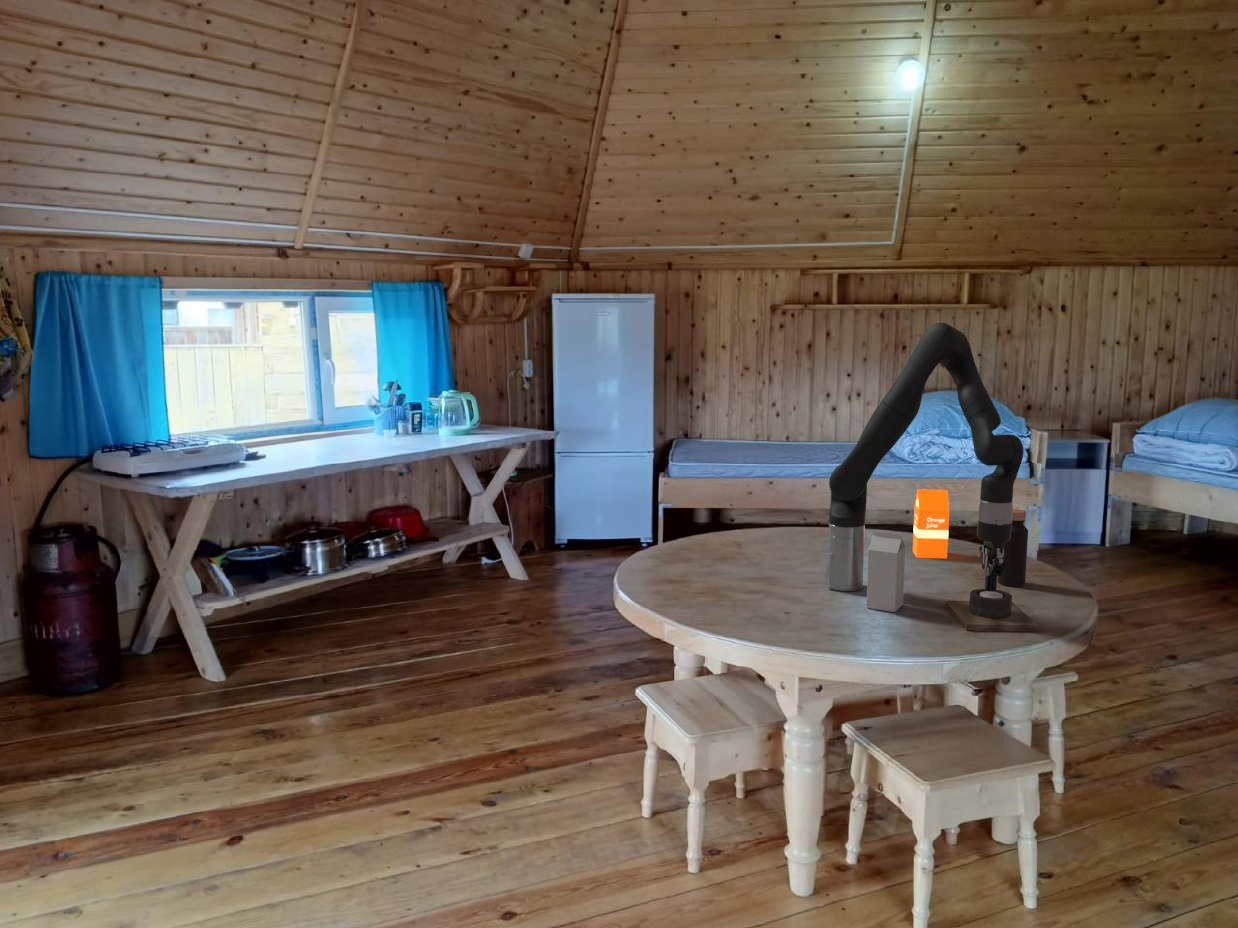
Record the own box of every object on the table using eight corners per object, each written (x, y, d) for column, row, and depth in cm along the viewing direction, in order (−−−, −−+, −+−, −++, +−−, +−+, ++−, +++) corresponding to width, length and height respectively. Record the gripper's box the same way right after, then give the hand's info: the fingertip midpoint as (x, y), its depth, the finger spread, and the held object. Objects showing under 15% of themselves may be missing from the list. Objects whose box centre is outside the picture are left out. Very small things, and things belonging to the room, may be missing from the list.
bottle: (993, 580, 257) (998, 508, 254) (1019, 580, 257) (1023, 508, 254) (1003, 587, 250) (1007, 513, 247) (1029, 587, 250) (1033, 513, 247)
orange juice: (912, 551, 288) (915, 487, 285) (942, 552, 287) (945, 487, 284) (916, 557, 281) (919, 491, 278) (947, 558, 280) (950, 492, 276)
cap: (982, 615, 222) (983, 597, 222) (976, 609, 227) (977, 591, 227) (1004, 615, 222) (1005, 597, 221) (997, 609, 227) (998, 591, 226)
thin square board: (966, 630, 217) (967, 605, 216) (945, 606, 234) (946, 583, 233) (1037, 631, 216) (1039, 606, 215) (1011, 607, 233) (1012, 583, 232)
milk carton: (894, 612, 230) (898, 537, 227) (866, 608, 233) (868, 533, 230) (903, 605, 236) (906, 531, 233) (874, 600, 239) (877, 527, 236)
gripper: (970, 513, 228) (966, 582, 231) (987, 525, 215) (982, 598, 218) (1002, 513, 227) (997, 583, 230) (1021, 525, 214) (1016, 599, 217)
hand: (990, 590), depth 224 cm, fingers closed
